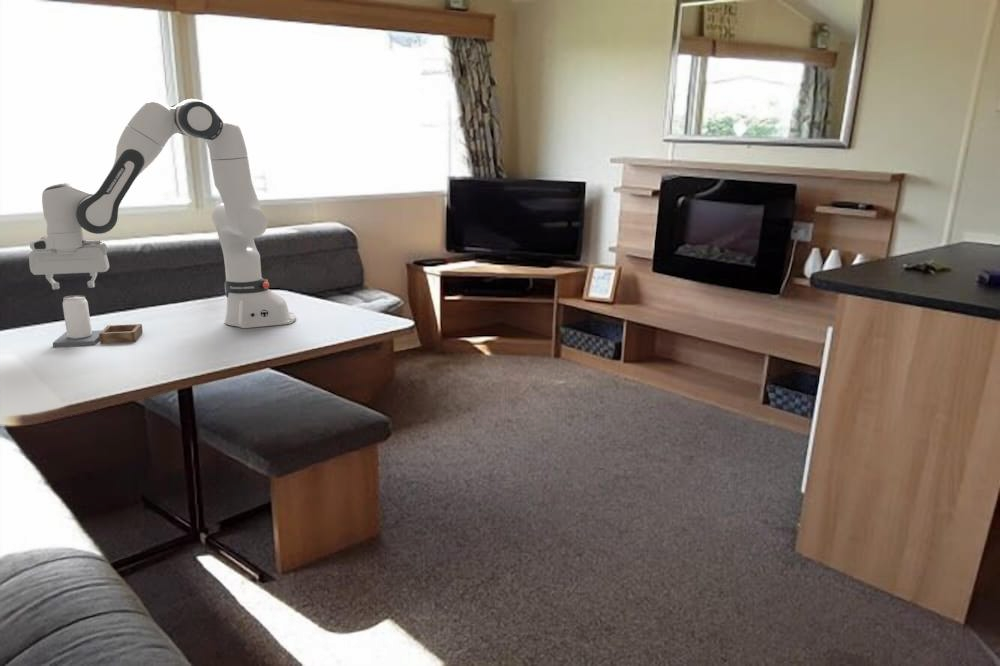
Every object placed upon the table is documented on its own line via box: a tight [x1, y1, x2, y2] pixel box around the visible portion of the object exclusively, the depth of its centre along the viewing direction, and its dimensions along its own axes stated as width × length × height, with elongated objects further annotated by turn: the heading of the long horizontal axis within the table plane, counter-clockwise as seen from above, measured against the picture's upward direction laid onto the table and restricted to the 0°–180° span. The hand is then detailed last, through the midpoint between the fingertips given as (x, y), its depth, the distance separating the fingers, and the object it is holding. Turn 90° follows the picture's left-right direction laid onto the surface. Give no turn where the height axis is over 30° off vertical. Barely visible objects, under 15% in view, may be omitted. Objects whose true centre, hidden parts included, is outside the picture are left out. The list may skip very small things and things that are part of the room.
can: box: [62, 294, 93, 339], centre depth 218 cm, size 6×6×12 cm
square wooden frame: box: [99, 323, 144, 344], centre depth 222 cm, size 10×10×3 cm
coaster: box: [52, 329, 103, 348], centre depth 220 cm, size 11×12×1 cm
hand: (73, 288), depth 216 cm, fingers open, 8 cm apart
